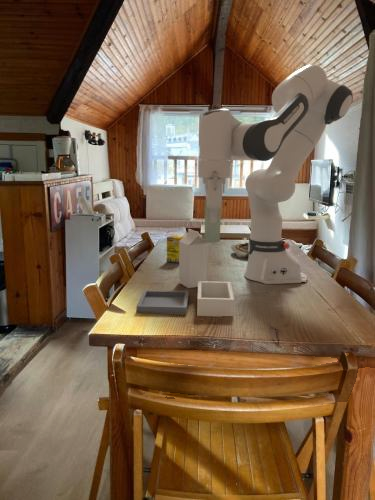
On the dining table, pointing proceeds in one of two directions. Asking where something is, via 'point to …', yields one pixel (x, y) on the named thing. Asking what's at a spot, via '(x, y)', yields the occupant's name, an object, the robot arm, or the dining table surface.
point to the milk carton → (192, 259)
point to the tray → (163, 302)
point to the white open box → (215, 299)
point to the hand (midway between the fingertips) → (212, 221)
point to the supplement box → (173, 248)
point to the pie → (241, 250)
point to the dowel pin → (212, 226)
